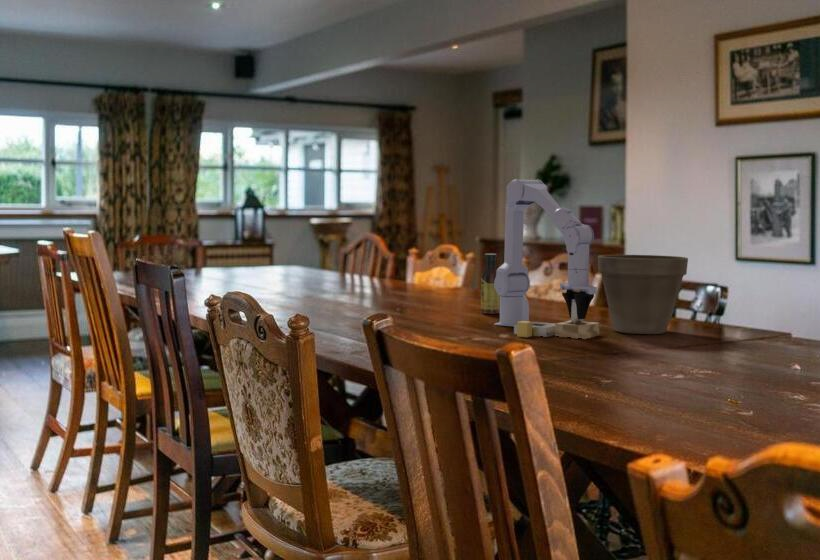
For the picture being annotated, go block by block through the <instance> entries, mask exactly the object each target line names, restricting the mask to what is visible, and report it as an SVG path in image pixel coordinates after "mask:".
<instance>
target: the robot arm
mask: <svg viewBox="0 0 820 560" xmlns="http://www.w3.org/2000/svg"><path fill="white" fill-rule="evenodd" d="M505 200H506V201H505V218H504V219H505V221H504V222H505V223H504V224H505V225H504V227H505V228H504V258H503V259H504V260H503V264H501V265H500V266H499V267H498V268H497V273H496V278H495V281H494V287H495V290H496V292H497V293H498V295H499V296H500V308H499V311H500V312H499V322H495V323H493V325H494V326H503V327H514V325H517V322H520V321H530V303H529V302H530V301H529V299H528V298H527V297H526V295H527V292H528V291H529V290H530V286H531V281H530V277H529V269H528V268H527V266H525V265H524V264H523V258H524V257H523V256H524V253H523V252H524V224H525V223H524V221H525V211H526V210H527V209H528V208H529V207H530V206H532V205H534V204H535V203H536V204H537V205H538V206H540V207H541V208H542V209H543V210H544V211H545V212H546V213H548V215H550V216H551V223H552V224H553V225H554V226H555V228H556V229H557V230H558V231H559V232H560V233H561V234H562V236H563V237H562V239H563V242H564V244H565V247H566V252H567V282H560V283H559V290H560V291H565V292H562V293H561V295H562V297H563V298H564V301H565V304H566V306H567V310H568V316H569V318H570V319H571V299H575V301H576V306H577V317H578V319H583V320H585V319H586V318H587V314H588V310H589V308H590V305H591V302H592V300H593V299H594V297H595V295H597V294H598V291H597V290H598V289H597V288H598V287H597V286H593V285H590V284H589V281H590V280H589V278H590V276H589V274H590V273H589V272H590V245H592V243H593V242H594V239H595V235H594V229H593V228H592V226H591V225H589V224H583V223H582V222H581V221H580V219H578V218H577V217H576V216H575V215H574V214H573V213H572V210H571V209H570V208H566V207H561V206H560V205H559V204H558V203H557V201H556V199H554V197H553V196H552V195H551V193H549V191H548V186H547V185H546V184H545V183H544V182H543V181H542V180H541V179H518V178H515V179H514V178H513V179H512V180H511V181H510V182H509V183H508V184H507V185H506V198H505Z"/></svg>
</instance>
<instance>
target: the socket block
mask: <svg viewBox="0 0 820 560" xmlns="http://www.w3.org/2000/svg"><path fill="white" fill-rule="evenodd" d="M531 322H532V336H531V337H540V336H543V337H542V338H548V337H552V336H555V324H556V323H554V322H553V323H552V322H551V323H550V322H540V321H531ZM513 335H517V325H514V326H513Z"/></svg>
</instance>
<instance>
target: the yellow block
mask: <svg viewBox="0 0 820 560" xmlns="http://www.w3.org/2000/svg"><path fill="white" fill-rule="evenodd" d="M532 322H533V321H530V320H529V321H520V322H517V334H516V337H517V338H519V337H520V338H530V337H533V336H532Z"/></svg>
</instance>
